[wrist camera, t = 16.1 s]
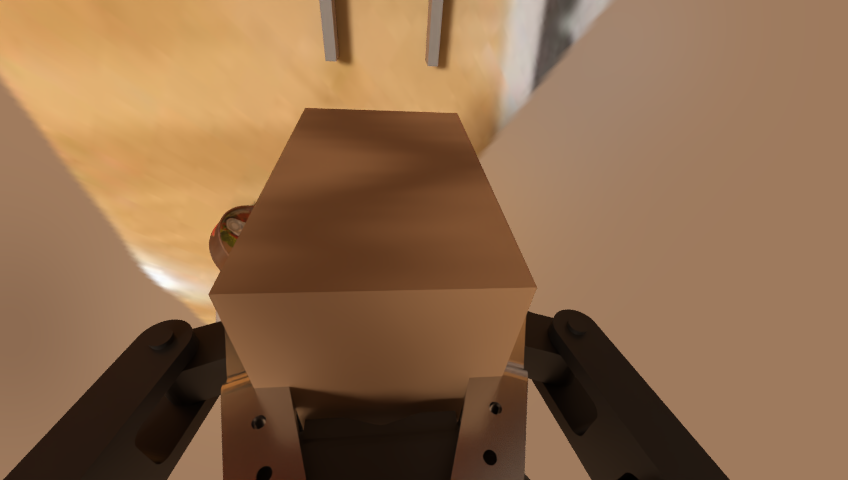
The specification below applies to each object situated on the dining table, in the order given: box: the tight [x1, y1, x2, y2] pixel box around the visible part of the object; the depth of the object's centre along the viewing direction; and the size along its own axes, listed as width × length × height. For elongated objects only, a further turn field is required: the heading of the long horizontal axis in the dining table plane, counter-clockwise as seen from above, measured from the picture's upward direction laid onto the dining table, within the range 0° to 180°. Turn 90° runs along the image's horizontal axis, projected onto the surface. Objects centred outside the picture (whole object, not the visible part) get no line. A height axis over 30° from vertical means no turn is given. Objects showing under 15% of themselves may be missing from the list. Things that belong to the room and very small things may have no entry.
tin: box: [209, 206, 254, 271], centre depth 36 cm, size 15×3×8 cm, turn 43°
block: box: [208, 108, 537, 430], centre depth 12 cm, size 5×10×8 cm, turn 176°
